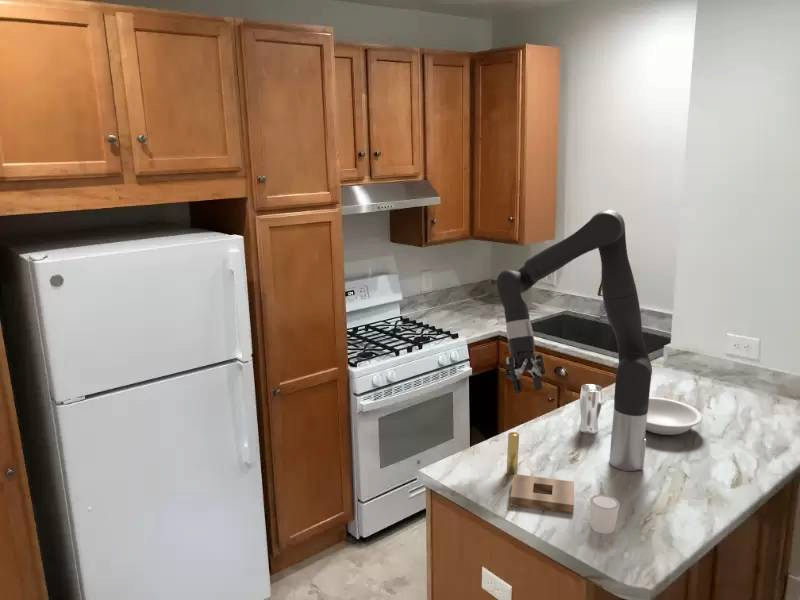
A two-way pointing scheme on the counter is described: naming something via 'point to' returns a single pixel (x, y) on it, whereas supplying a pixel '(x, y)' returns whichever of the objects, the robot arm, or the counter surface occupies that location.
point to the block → (556, 502)
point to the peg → (512, 453)
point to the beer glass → (590, 408)
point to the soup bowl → (670, 416)
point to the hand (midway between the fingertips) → (528, 391)
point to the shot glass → (603, 513)
